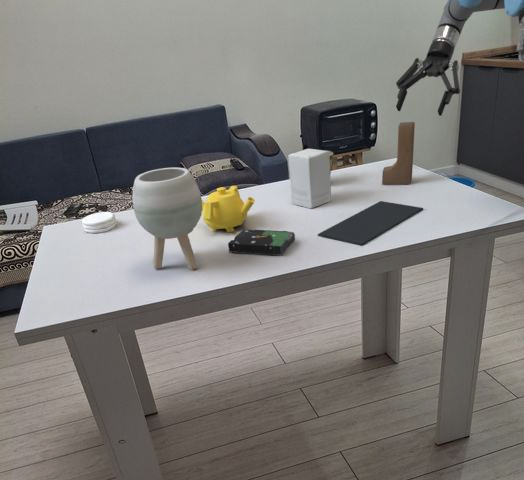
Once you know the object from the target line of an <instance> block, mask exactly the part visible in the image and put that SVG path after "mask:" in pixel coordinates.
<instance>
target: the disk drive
mask: <svg viewBox="0 0 524 480" xmlns="http://www.w3.org/2000/svg"><path fill="white" fill-rule="evenodd" d="M295 241H296V234H295V232H294V231H288V230H270V229H252V228H249V229H248V228H244V229H242V230H241V231H240V232H239V233H238V234H236V235H235V236H234V238H233V239H231V240H230V241H228V243H227V246H228V252H231V253H237V254H238V253H240V254H252V255H253V254H257V255H268V256H269V255H270V256H282V255H283V254H285V252H286V251H287V250H288V249H289V248H290V247H291V246H292V244H293V243H294V242H295Z"/></svg>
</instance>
